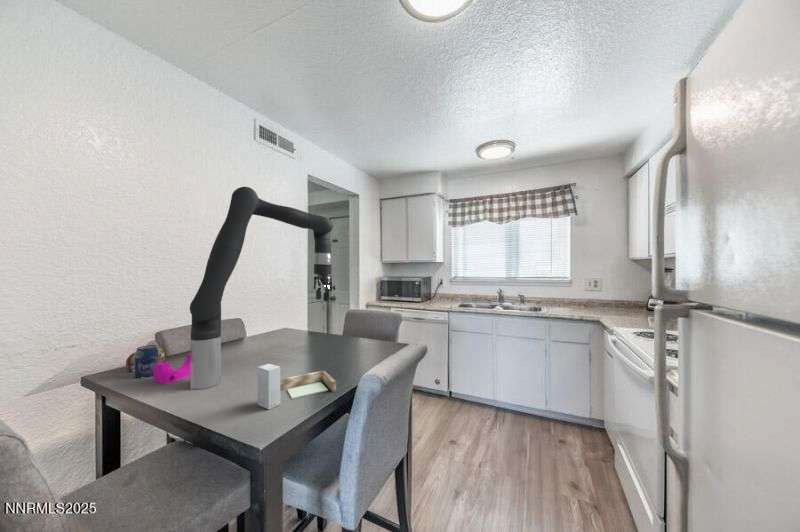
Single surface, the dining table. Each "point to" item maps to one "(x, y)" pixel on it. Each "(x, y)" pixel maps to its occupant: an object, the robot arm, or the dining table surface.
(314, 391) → the mat
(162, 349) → the tin
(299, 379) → the wooden angle bracket
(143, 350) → the soda can
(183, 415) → the dining table surface
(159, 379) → the magenta notched block
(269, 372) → the skincare box
